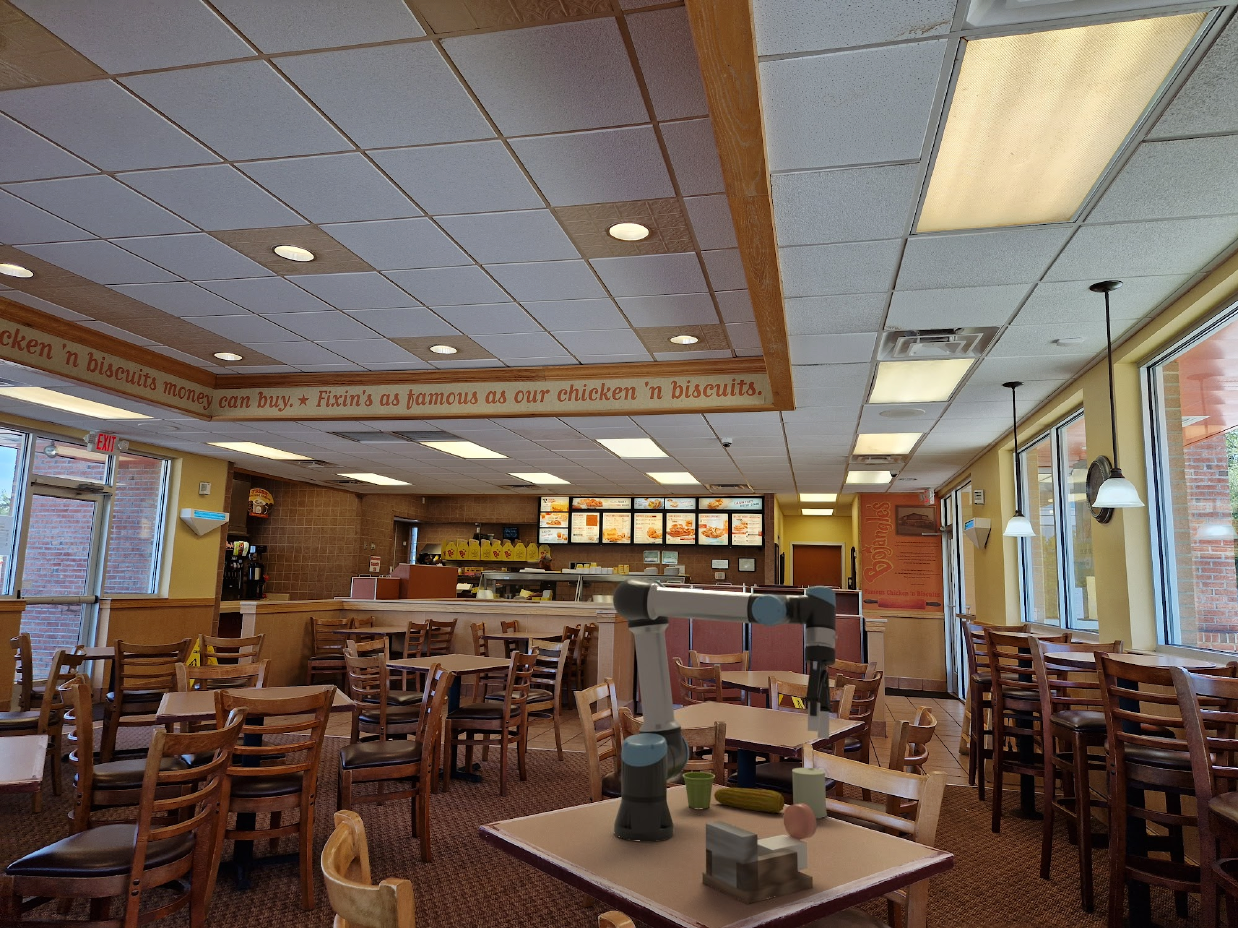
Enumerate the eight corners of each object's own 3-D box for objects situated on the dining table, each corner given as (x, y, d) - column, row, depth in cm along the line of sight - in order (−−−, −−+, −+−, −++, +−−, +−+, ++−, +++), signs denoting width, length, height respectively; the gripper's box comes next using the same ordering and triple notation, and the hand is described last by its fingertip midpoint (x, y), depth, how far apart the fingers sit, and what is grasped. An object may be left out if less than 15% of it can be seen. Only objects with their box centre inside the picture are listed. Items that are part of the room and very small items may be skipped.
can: (829, 812, 222) (828, 767, 224) (823, 820, 214) (822, 773, 216) (797, 808, 226) (795, 764, 228) (789, 816, 217) (788, 770, 220)
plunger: (773, 876, 162) (772, 815, 165) (750, 867, 168) (749, 807, 170) (817, 865, 169) (816, 807, 171) (794, 856, 175) (792, 800, 177)
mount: (747, 904, 154) (746, 838, 156) (702, 882, 165) (702, 821, 167) (812, 887, 163) (811, 825, 165) (765, 867, 175) (764, 810, 177)
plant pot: (681, 810, 222) (681, 777, 224) (684, 801, 232) (683, 770, 233) (714, 811, 221) (714, 779, 222) (716, 803, 230) (715, 772, 231)
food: (786, 812, 222) (785, 790, 223) (779, 816, 217) (778, 794, 218) (717, 801, 233) (717, 780, 234) (709, 805, 228) (709, 784, 229)
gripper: (827, 636, 188) (825, 728, 180) (842, 658, 209) (842, 742, 200) (795, 635, 191) (792, 726, 183) (814, 657, 212) (812, 739, 203)
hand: (818, 734), depth 191 cm, fingers open, 13 cm apart
